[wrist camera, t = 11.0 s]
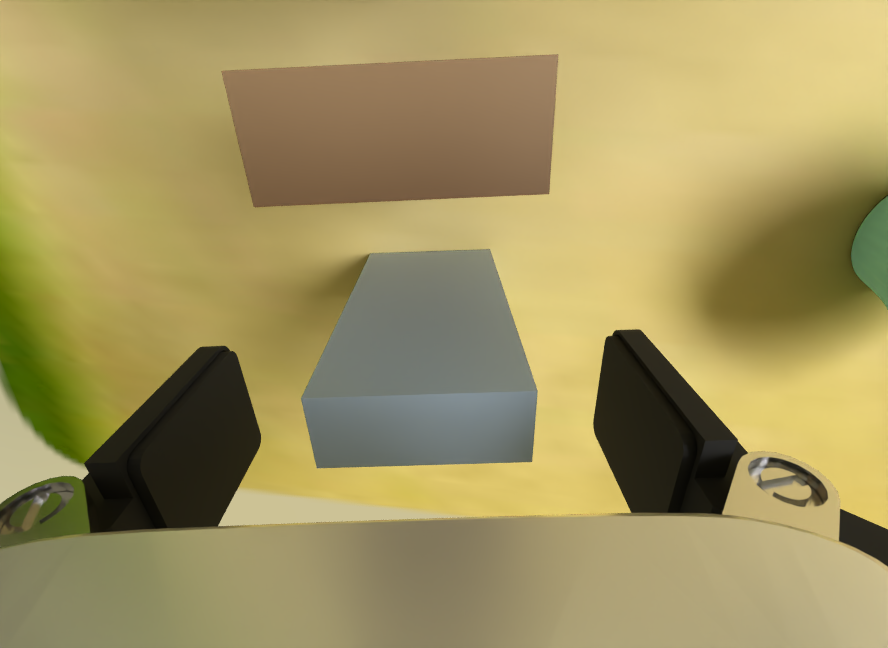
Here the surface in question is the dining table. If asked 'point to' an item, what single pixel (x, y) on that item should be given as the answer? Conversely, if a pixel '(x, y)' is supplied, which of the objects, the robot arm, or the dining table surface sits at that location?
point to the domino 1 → (395, 130)
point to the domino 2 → (423, 368)
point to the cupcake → (873, 251)
